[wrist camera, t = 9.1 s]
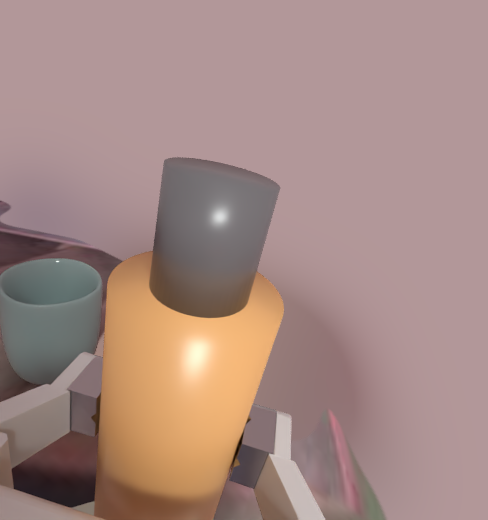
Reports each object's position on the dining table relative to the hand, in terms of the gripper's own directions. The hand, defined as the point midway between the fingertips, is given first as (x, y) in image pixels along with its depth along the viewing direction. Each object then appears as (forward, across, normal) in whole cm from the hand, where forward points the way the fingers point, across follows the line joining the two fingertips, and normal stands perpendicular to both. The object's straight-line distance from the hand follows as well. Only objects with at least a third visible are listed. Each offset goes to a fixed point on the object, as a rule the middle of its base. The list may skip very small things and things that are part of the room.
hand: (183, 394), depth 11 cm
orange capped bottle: (-1, 0, +7) cm, 7 cm away
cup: (+14, +15, +17) cm, 27 cm away
